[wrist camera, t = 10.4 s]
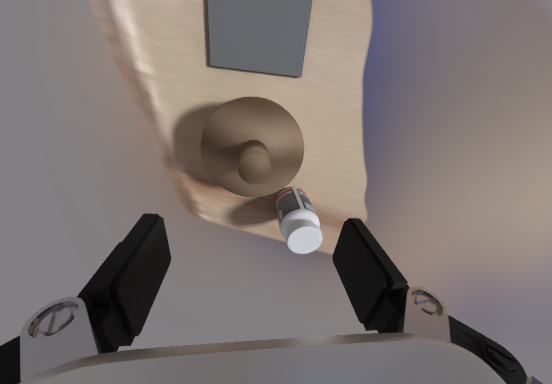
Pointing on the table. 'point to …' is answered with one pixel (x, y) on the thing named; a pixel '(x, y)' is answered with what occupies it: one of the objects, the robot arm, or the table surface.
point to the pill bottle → (298, 221)
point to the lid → (252, 147)
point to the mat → (259, 35)
